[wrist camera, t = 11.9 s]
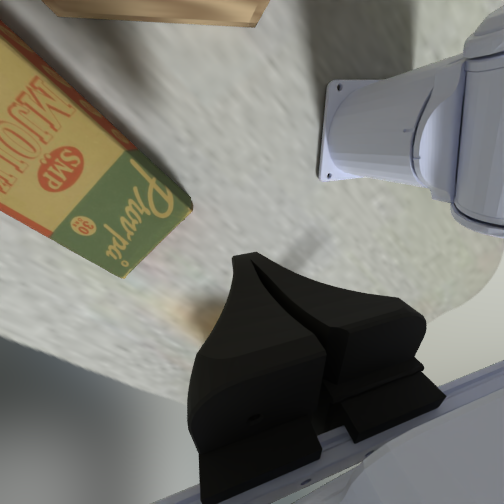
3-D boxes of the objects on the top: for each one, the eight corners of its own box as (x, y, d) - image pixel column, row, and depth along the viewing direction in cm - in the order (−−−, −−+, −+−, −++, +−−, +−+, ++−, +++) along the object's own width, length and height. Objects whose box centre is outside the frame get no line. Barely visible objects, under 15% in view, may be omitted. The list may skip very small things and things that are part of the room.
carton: (-35, -19, 11) (-147, -103, 7) (195, 199, 19) (197, 212, 15) (-117, 99, 12) (-253, 78, 8) (135, 259, 20) (123, 284, 16)
